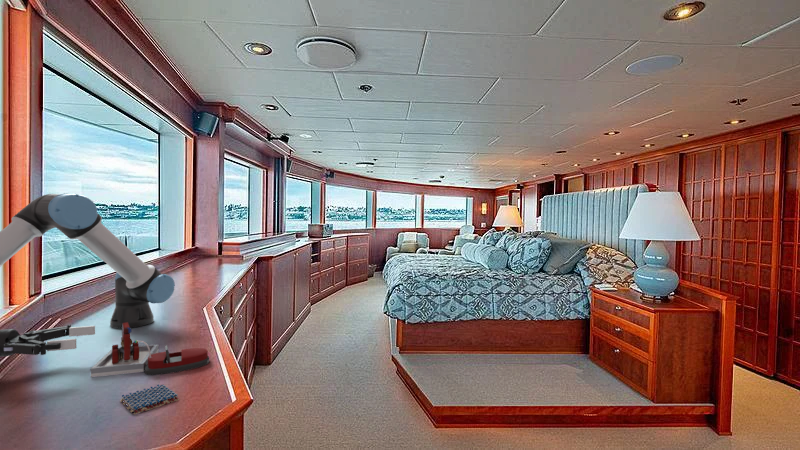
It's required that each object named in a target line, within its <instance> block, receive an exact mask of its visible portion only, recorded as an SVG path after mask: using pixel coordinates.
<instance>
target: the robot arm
mask: <svg viewBox="0 0 800 450" xmlns="http://www.w3.org/2000/svg"><path fill="white" fill-rule="evenodd" d="M102 219H103V217H102V216H101V215H100V214H99V213H98V208H97V205H96V204H95V203H94V201H93V200H92V199H90V198H89V197H87V196H85V195H82V194H78V193H73V192H72V193H71V192H66V193H65V192H64V193H48V194H43V195H41V196H38V197H36V198H35V199H33V200H32V201H31V202H30V203H28V204H27V205H26V206H25V207H23V208H22V209H21V210H20V211H18V212H17V213H16V214H14V216H12V217H11V222H10V223H9V224H8V225H7V226H6V227H4V228H3V229H2V230H1V231H0V268H1V267H2V266H3V265H4V264H6V262H8V261H9V260H10V259H11V258H12V257H14V256H15V255H16V254H17V253H18V252H20V251H21V249H23V248H24V247H25V246H27V244H29V243H30V242H31V241H32V240H34V239H35V238H36V237H37V238H39V237H42V236H43V235H44V234H45V233H48V231H50V230H52V229H55V228H56V229H57V230H59V231H60V232H61V233H62V234H63V235H65V237H67V239H69V240H78V241H79V242H80V243H82V244H83V245H84V246H85V247H86V248H88V249H89V250H90V251H91V252H92V253H93V254H95V256H97V257H98V258H99V259H100V260H102V261H103V262H104V263H106V264H107V266H109V267H110V268H111V269H112V270H113V271H114V272H116V273H115V278H114V282H115V283H114V284H115V286H114V287H115V289H114V291H115V293H114V294H115V298H114V299H115V307H114V310H113V313H112V316H111V318H110V321H109V323H110V325H109V327H111V328H113V329H122V324H123V323H127V322H128V324H129V327H130V328H131V329H133V328H138V327H143V326H144V327H145V326H147V325H150V324H152V323H153V322H154V313H153V311H152V309H151V306H150V304H162V303H163V304H164V303H165V302H167V301H168V300H169V299H170V298H171V297H172V296H173V294H174V291H175V286H176V284H175V280H174V278H173V277H172V276H171V275H169V274H167V273H162V272H161V271H160V270H159V269H157V268H156V267H155V266H154V265H153V264H146V263H145V262H144V261H143V260H141V259H140V258H139V257H138V256H137V255H136V254H135V253H134V252H133V251H132V250H131V249H130V248H129V247H127V245H125V244H124V243H123V242H122V241H121V240H120V239H119V238H118V237H117V236H116V235H115V234H114V233H112V232H111V230H109V229H108V228H107V227H106V226H105V225H104V224H103V223H102ZM95 334H96V325H84V326H74V327H73V326H71V324H67V325H64V326H58V327H51V328H46V329H45V328H44V329H39V330H38V329H37V330H30V331H28V332H25V333H23V334H20V333H19V331H18V330H17V329H15V328H10V329H9V328H8V329H6V328H5V329H0V358H1V357H3V358H4V357H10V356H12V355H14V354H15V355H32V356H33V355H34V356H37V355H39V354H40V356H45V355H46V354H47V352H53V351H54V352H55V351H64V350H76V349H77V338H69V339H67V338H66V339H59V338H63V337H64V338H65V337H80V336H82V337H83V336H94V335H95ZM53 339H54V340H53ZM55 339H57V340H55ZM45 341H47V342H45Z"/></svg>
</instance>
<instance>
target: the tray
mask: <svg viewBox="0 0 800 450" xmlns="http://www.w3.org/2000/svg"><path fill="white" fill-rule="evenodd" d="M148 346H149V348H150V352H151V355H152V354H155V353H160V349H159V344H148ZM119 349H120V347H118V350H119ZM148 357H149V350H148V348H147V346H146V344H143V345H139V359H137V360H133V356H130V359H129V360H124V359H123V358H122V360H119V361H118V363H114V364H113V363H112V349H111V350H109V351H108V352H107V353H106V354H105V355H104V356H102V358H101V359H100V360H98V361H97V362H96V363H95V364H94V365H93V366H92V367H90V378H96V377H97V378H98V377H105V376H106V377H107V376H116V375H117V376H118V375H123V374H124V375H125V374H126V375H127V374H136V373H145V366H146V365H147V364H148Z"/></svg>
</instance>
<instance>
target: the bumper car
mask: <svg viewBox="0 0 800 450" xmlns="http://www.w3.org/2000/svg"><path fill="white" fill-rule="evenodd" d="M133 342H134V343H137V342H138V343H143V344H144V345H146V346H147V348H148V350H149V357H148V364H147V365H146V366H145V371H144V374H145V375H149V376H156V375H166V374H172V373H173V372H174V373H178V372H179V371H180V372H183V371H184V370H185V371H188V370H194V369H197V368H201V367H204V366H207V365H208V364H209V363H210V356H209V352H208V350H207V349H206V348H202V347H195V348H194V347H193V348H192V347H191V348H182V349H181V350H180V351H176V352H169V347H168V346H169V345H165V346H164V349H165V351H161V352H160V351H159V352H158V353H155V354H152V355H151V352H150V348H149V346H148V345H149V344H148V343H147V342H145V341H144V340H137V339H134V340H133Z"/></svg>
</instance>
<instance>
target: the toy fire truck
mask: <svg viewBox="0 0 800 450" xmlns="http://www.w3.org/2000/svg"><path fill="white" fill-rule="evenodd" d="M131 333H132V328H130V327H129V324H128V322H127V323H123V324H122V328H121V338H120V340H121V341H120V347H119V344H112V346H111V350H112V363H113V364H114V363H118V361H119V360H122V358H123V359H124V360H129V359H130V356H133V360H137V359H139V346H140V345H139V342H137V343H134V341H133V339H132V338H131ZM118 348H120V349H119V350H118Z"/></svg>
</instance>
